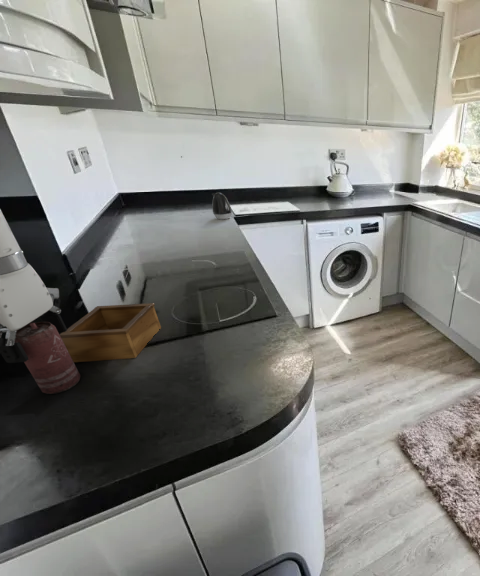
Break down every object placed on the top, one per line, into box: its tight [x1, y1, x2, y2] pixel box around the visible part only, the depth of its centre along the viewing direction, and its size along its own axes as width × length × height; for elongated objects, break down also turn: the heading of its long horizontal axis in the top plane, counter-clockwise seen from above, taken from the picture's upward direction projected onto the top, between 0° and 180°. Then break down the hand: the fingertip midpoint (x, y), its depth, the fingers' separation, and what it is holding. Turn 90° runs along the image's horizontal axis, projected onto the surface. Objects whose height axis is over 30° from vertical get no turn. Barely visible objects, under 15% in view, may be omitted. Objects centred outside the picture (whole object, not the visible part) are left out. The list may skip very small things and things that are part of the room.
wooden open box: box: [59, 302, 162, 363], centre depth 79 cm, size 13×13×8 cm
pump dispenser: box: [211, 192, 233, 220], centre depth 190 cm, size 10×10×15 cm
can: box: [15, 321, 81, 395], centre depth 65 cm, size 6×6×14 cm
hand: (39, 345), depth 63 cm, fingers open, 9 cm apart
